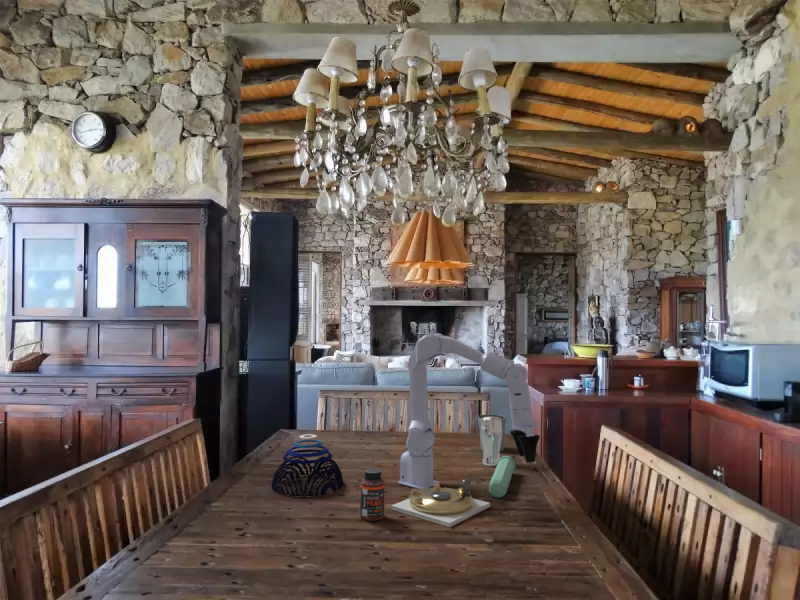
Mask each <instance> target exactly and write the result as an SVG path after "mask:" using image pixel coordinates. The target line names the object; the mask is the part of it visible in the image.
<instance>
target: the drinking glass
mask: <svg viewBox="0 0 800 600" xmlns="http://www.w3.org/2000/svg"><path fill="white" fill-rule="evenodd" d="M488 416H491V417H499V418H501V422H502V439H501V445H500V451H501V452H504V450H505V436H506V435H505V433H506V420H507V418H506V416H505V415H502V414H494V413H489V414H487V413H486V414H480V415H478V416H477V421H478V422H477V423H478V431H479V443H480V450H481V451H483V444H482V438H481V420H482V417H488Z"/></svg>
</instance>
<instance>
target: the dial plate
mask: <svg viewBox="0 0 800 600" xmlns="http://www.w3.org/2000/svg"><path fill="white" fill-rule="evenodd" d="M490 507H491V502H488V501H484V500H481V499H476V498H473V506H472V508H471V509H469V510H468V511H465V512H462V513H458V514H451V515H437V514H429V513H424V512H421V511H418V510H416V509H414V508H412V507H411V505H410V497H408V498H407V499H405V500H402V501H400V502H397V503H394V504H391V511H395V512H398V513H402V514H405V515H408V516H411V517H415V518H417V519H422V520H425V521H427V522H431V523H434V524H438V525H441V526H443V527H444V526H445V527H447V528H452V527H454V526H455V525H457V524H459V523H461V522H463V521H465V520H467V519H469V518H471V517H472V516H474V515H476V514H479V513H482V511H485V510H486V509H489V508H490Z"/></svg>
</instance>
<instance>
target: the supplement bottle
mask: <svg viewBox="0 0 800 600" xmlns="http://www.w3.org/2000/svg"><path fill="white" fill-rule="evenodd" d="M385 486H386V481H385V480H384V478H382V470H381V469H380V468H379V469H378V468H367V469H365V470H364V477H363V478H362V479H361V481H360V489H359V490H360V492H359V493H360V495H359V497H360V498H359V500H360V501H359V504H360V505H359V508H360V509H359V513H360V514H359V516H360V518H361V519H362V520H364V521H368V522H377V521H380V520H382V519H383V518H384V517H385V503H386V502H385V501H386V499H385V497H386V495H385V491H386V490H385V489H386V487H385Z"/></svg>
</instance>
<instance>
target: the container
mask: <svg viewBox="0 0 800 600" xmlns="http://www.w3.org/2000/svg"><path fill="white" fill-rule="evenodd" d="M515 471H516V461H515V460H514V459H513V457H511V456H509V455H508V456H507V455H502V456H501V457H500V459H499V460H498V461H497V466H495V470H494V473H493V475H492V477H491V479H490V482H489V484H488V492H489V493H490V494H491V496H492V497H494V498H503V497H504V496H505V495H506V494H507V493H508V488H509V486H510V483H511V479H512V476H513V473H514V472H515Z"/></svg>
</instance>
